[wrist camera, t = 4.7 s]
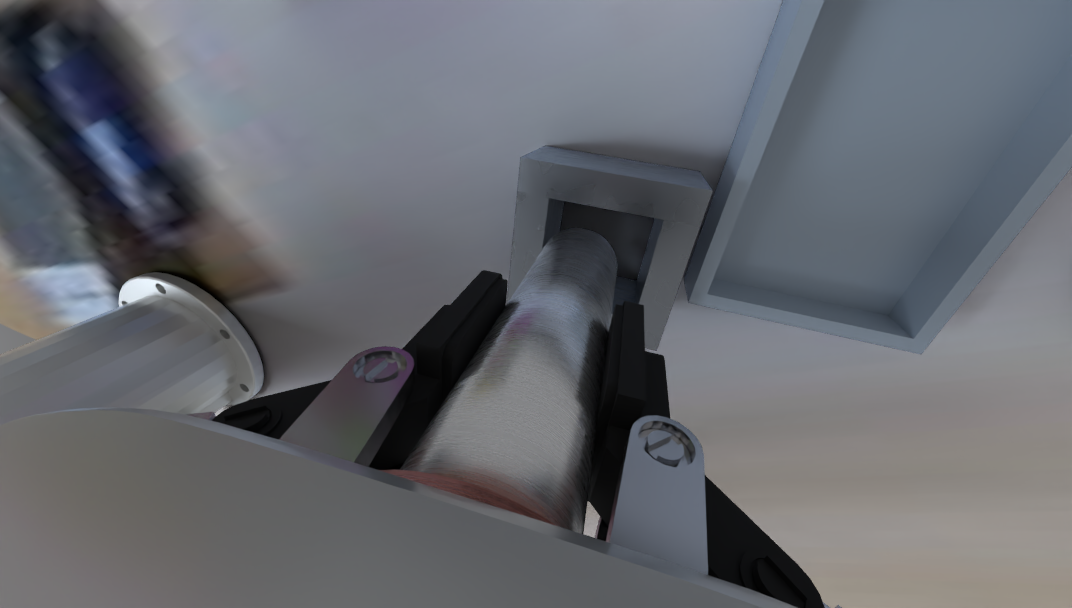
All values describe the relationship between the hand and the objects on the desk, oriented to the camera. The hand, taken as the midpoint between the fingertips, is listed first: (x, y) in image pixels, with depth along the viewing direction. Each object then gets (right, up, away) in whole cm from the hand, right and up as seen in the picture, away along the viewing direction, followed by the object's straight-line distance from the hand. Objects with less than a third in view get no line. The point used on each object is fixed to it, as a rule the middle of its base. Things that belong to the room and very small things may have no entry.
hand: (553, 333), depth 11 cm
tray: (+12, +7, +4) cm, 14 cm away
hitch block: (+3, +4, +8) cm, 9 cm away
